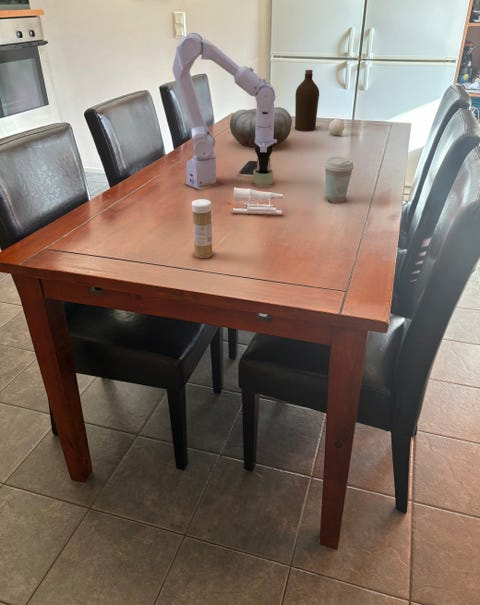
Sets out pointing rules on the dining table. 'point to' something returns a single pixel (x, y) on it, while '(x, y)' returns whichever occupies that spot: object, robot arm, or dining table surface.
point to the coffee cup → (337, 178)
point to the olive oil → (306, 104)
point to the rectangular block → (263, 170)
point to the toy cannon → (260, 209)
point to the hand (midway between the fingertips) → (263, 168)
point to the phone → (249, 168)
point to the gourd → (246, 121)
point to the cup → (263, 178)
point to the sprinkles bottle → (202, 228)
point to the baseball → (336, 127)
